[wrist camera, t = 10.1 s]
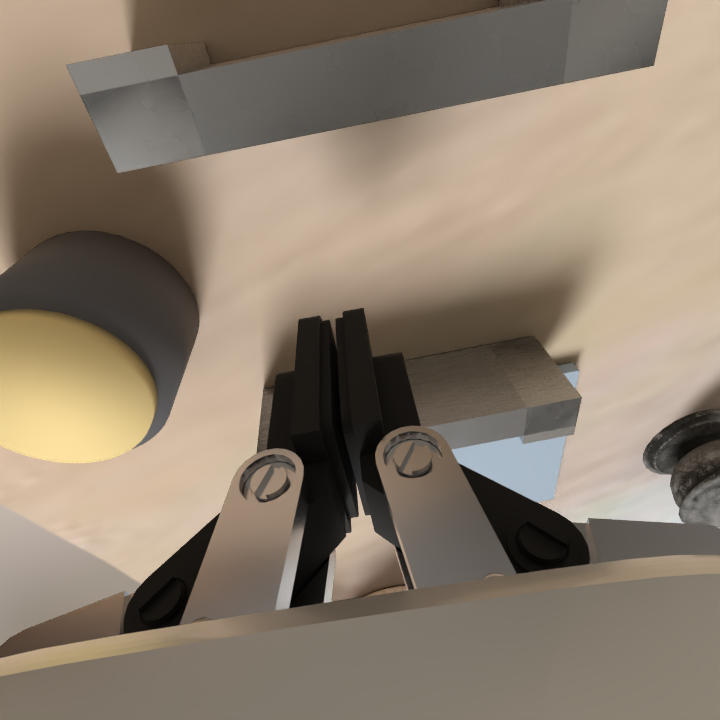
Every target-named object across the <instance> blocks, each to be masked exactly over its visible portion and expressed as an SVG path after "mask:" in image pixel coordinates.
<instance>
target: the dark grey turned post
mask: <svg viewBox="0 0 720 720" xmlns="http://www.w3.org/2000/svg"><path fill="white" fill-rule="evenodd" d="M643 462H644V464H645V466H646V468H647V469H649V470H650V471H652V472H654V473H658V474H672V477H671V482H670V487H671V490H672V494H673V497H674V500H675V502H676V504H677V506H678V507H679V508H680V509H679V516H680V519H681V521H682V522H683V523H685V524H697V525H706V526H711V527H716V528H718V527H719V528H720V410H707V411H701V412H698V413H695V414H692V415H689V416H686V417H684V418H682V419H680V420H678V421H676V422H674V423H672V424H671V425H669V426H668V427H666V428H665V429H663V430H662V431H661V432H660V433H659V434H657V435H656V436H655V437H654V438H653V439H652V441H651V442H650V443H649V444H648V446H647V447H646V450H645V452H644V454H643Z"/></svg>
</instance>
